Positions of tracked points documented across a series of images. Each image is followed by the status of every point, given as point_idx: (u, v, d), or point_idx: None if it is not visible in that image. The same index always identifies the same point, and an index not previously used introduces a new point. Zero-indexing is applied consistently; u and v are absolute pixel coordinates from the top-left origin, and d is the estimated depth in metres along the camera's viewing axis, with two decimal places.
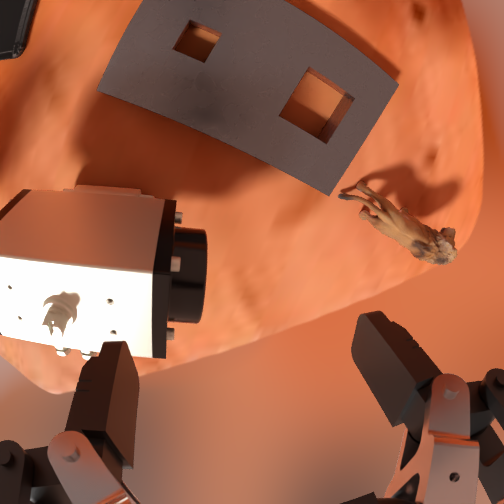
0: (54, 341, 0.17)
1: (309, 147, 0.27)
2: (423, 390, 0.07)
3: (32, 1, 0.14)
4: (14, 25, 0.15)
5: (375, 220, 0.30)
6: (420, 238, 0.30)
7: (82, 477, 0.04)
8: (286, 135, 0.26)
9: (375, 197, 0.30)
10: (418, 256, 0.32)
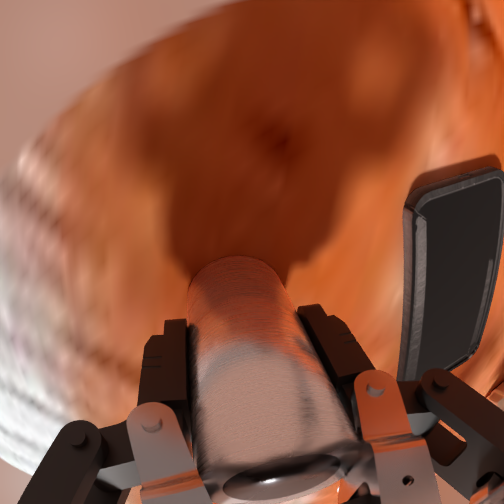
0: None
1: None
2: (349, 385, 0.07)
3: (491, 297, 0.16)
4: (470, 331, 0.17)
5: None
6: None
7: (171, 445, 0.05)
8: None
9: None
10: None
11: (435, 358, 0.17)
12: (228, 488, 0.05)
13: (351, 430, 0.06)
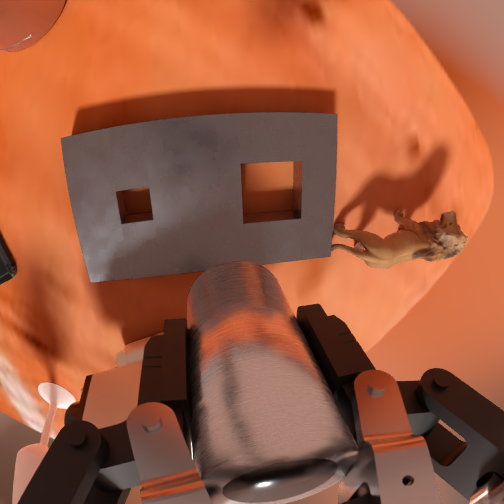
0: None
1: (287, 231, 0.28)
2: (349, 385, 0.07)
3: None
4: None
5: (364, 260, 0.29)
6: (418, 246, 0.28)
7: (171, 445, 0.05)
8: (260, 234, 0.28)
9: (353, 238, 0.29)
10: None
11: None
12: (227, 491, 0.05)
13: (348, 435, 0.06)
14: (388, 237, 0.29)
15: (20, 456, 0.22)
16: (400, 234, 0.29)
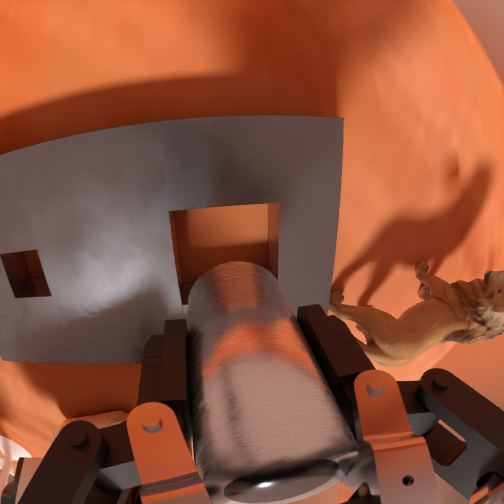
0: None
1: None
2: (349, 385, 0.07)
3: None
4: None
5: None
6: (452, 328, 0.17)
7: (171, 445, 0.05)
8: None
9: (355, 321, 0.19)
10: None
11: None
12: (229, 491, 0.05)
13: (349, 435, 0.06)
14: (408, 315, 0.18)
15: None
16: (426, 310, 0.18)
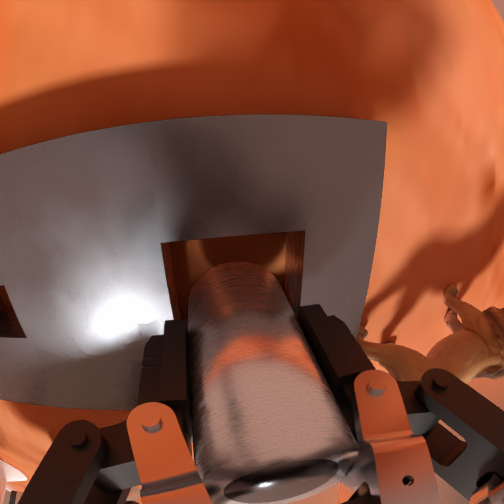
0: None
1: None
2: (349, 385, 0.07)
3: None
4: None
5: None
6: (485, 364, 0.13)
7: (171, 445, 0.05)
8: None
9: (381, 362, 0.15)
10: None
11: None
12: (229, 491, 0.05)
13: (349, 435, 0.06)
14: (440, 352, 0.15)
15: None
16: (459, 345, 0.14)
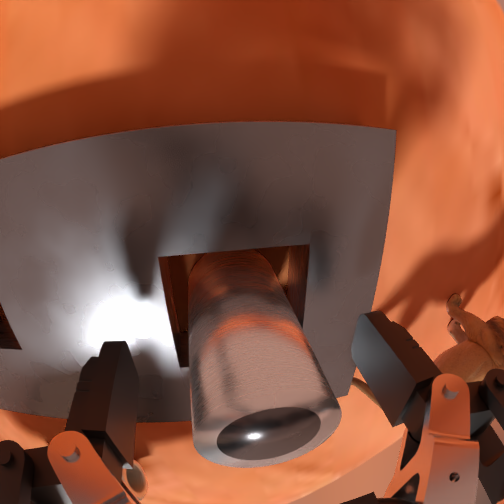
0: None
1: None
2: (423, 390, 0.07)
3: None
4: None
5: None
6: None
7: (82, 477, 0.04)
8: None
9: None
10: None
11: None
12: (221, 442, 0.07)
13: (328, 389, 0.07)
14: (442, 366, 0.14)
15: None
16: (462, 358, 0.14)
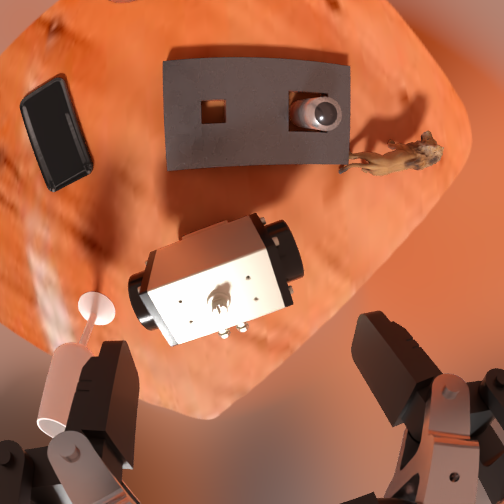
0: (219, 327, 0.30)
1: (318, 140, 0.38)
2: (423, 390, 0.07)
3: (78, 131, 0.33)
4: (74, 153, 0.34)
5: (369, 171, 0.39)
6: (407, 157, 0.37)
7: (82, 477, 0.04)
8: (299, 140, 0.37)
9: (359, 157, 0.39)
10: (417, 168, 0.37)
11: (58, 167, 0.34)
12: (315, 112, 0.31)
13: None
14: (384, 154, 0.38)
15: (59, 350, 0.31)
16: (392, 151, 0.38)
